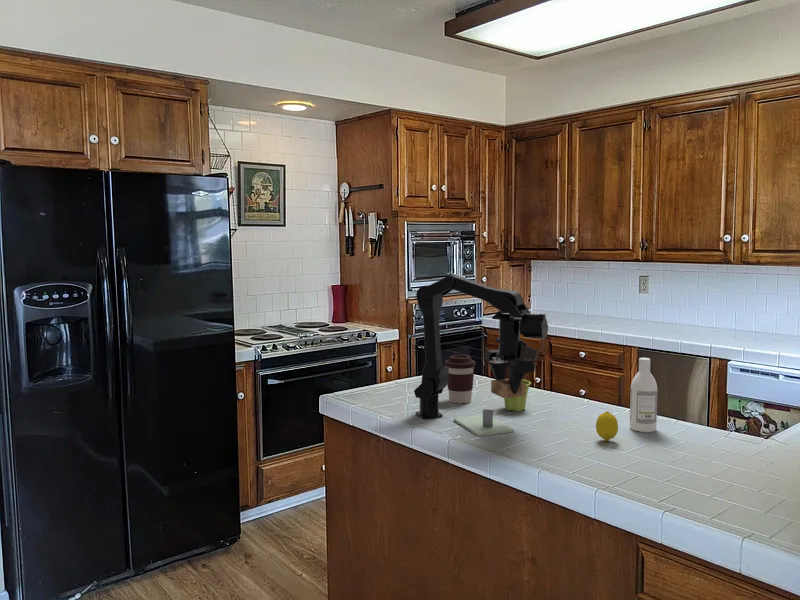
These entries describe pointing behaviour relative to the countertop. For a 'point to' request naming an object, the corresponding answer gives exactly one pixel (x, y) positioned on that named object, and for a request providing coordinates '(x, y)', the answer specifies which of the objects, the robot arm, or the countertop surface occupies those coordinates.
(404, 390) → the countertop surface
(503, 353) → the robot arm
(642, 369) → the bath foam
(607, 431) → the lemon
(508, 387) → the link
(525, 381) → the plant pot
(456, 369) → the coffee cup
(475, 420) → the keeper board
